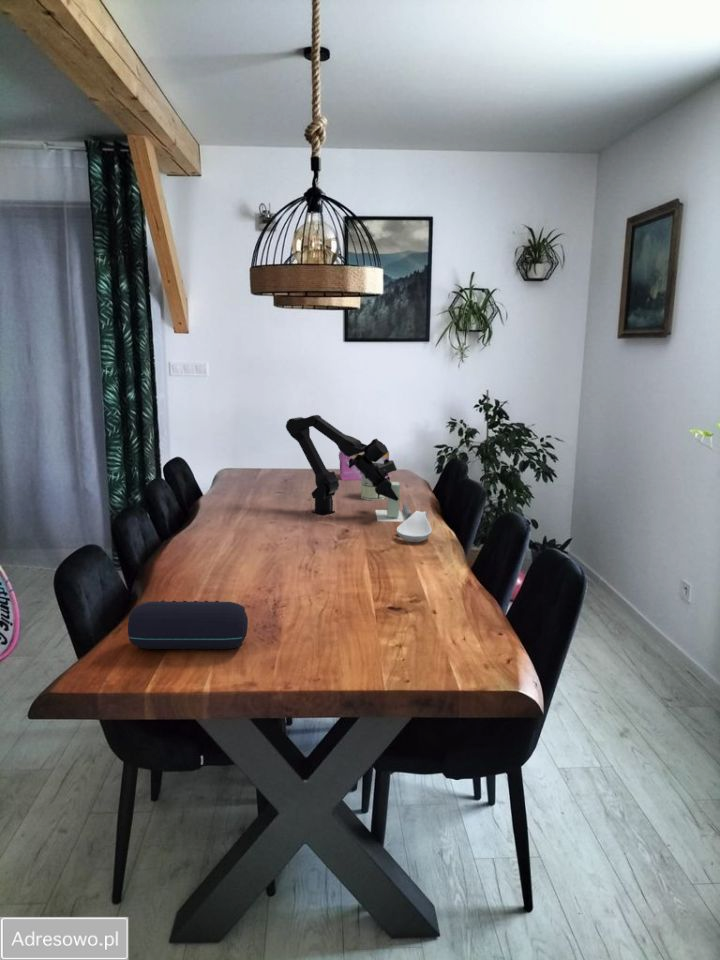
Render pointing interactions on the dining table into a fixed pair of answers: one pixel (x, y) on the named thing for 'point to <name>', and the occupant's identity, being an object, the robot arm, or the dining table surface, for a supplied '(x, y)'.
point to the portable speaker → (187, 625)
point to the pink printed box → (353, 472)
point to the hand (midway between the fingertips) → (397, 498)
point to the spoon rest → (415, 527)
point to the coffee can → (369, 489)
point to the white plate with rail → (402, 517)
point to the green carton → (392, 504)
